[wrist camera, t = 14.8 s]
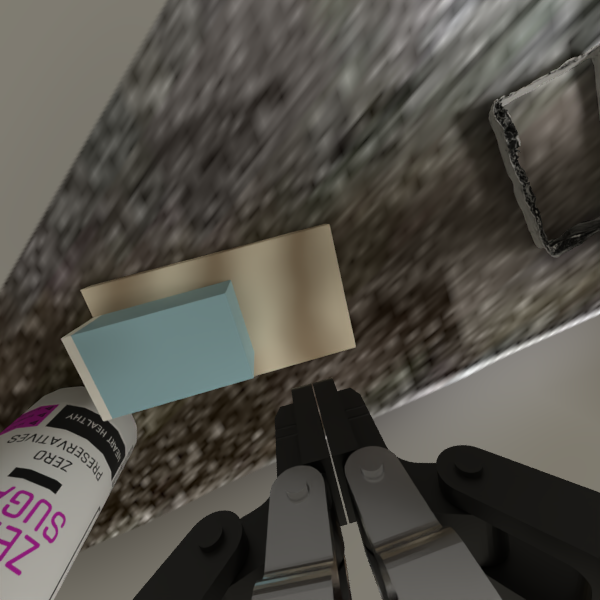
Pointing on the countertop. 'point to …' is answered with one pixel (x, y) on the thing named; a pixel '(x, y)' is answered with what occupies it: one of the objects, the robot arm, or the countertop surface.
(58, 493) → the supplement can
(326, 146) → the countertop surface
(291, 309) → the board
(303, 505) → the robot arm
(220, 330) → the block
